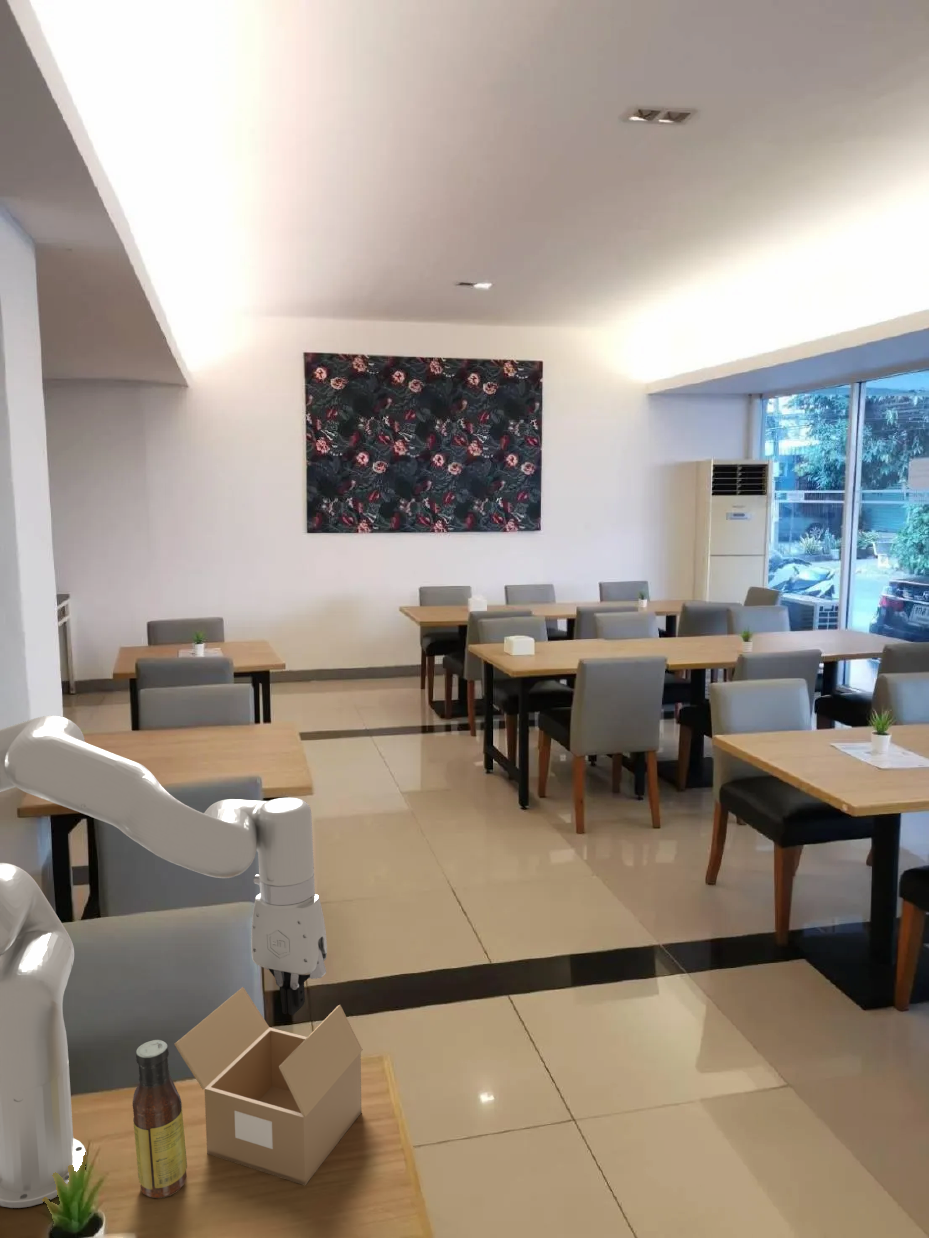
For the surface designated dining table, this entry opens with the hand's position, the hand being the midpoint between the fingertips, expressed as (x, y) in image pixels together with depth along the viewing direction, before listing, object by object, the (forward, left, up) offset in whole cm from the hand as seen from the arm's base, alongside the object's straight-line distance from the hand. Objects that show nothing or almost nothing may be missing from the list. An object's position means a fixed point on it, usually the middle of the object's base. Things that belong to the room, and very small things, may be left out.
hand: (293, 1009), depth 132 cm
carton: (-1, 0, -19) cm, 19 cm away
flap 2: (+5, 0, -6) cm, 8 cm away
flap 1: (-12, 0, -7) cm, 13 cm away
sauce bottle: (-11, -15, -20) cm, 27 cm away
